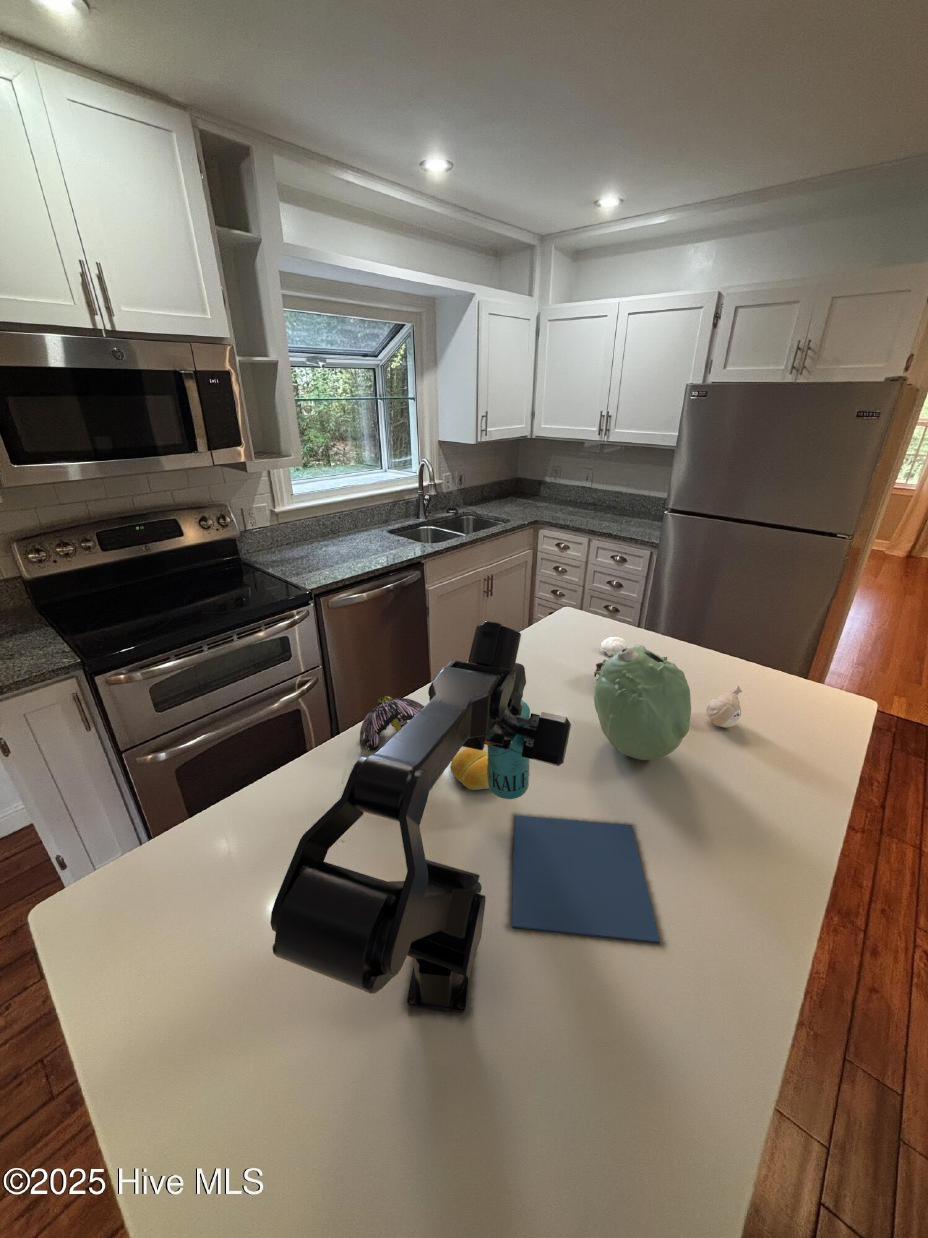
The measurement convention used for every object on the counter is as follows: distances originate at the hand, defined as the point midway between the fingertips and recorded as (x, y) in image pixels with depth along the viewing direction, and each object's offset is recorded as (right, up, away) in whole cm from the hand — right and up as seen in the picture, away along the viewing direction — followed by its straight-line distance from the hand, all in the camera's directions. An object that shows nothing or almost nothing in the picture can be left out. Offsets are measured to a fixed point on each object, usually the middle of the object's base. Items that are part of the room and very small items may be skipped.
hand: (509, 736), depth 75 cm
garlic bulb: (+45, -3, +26) cm, 52 cm away
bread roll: (-5, -10, +13) cm, 17 cm away
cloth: (+9, -18, -5) cm, 21 cm away
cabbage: (+25, -7, +19) cm, 32 cm away
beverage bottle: (0, -10, +3) cm, 10 cm away
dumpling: (+31, +9, +53) cm, 62 cm away
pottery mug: (+28, +2, +37) cm, 47 cm away
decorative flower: (-20, -7, +20) cm, 29 cm away
